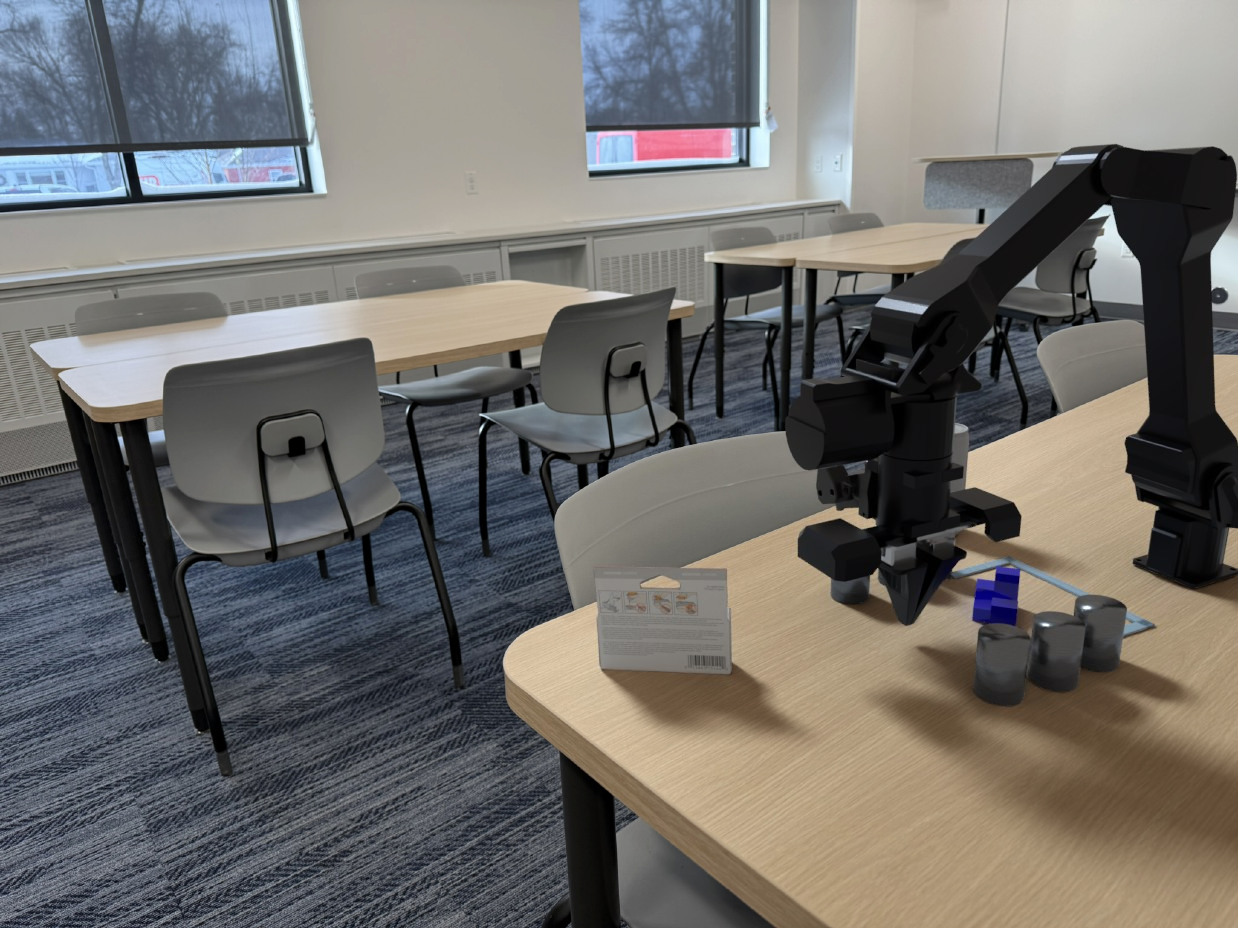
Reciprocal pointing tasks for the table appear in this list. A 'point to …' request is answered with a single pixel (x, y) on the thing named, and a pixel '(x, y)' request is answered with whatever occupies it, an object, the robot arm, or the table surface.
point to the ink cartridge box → (663, 620)
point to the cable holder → (997, 597)
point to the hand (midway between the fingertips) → (905, 622)
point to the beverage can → (960, 456)
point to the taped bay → (1128, 629)
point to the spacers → (1033, 645)
